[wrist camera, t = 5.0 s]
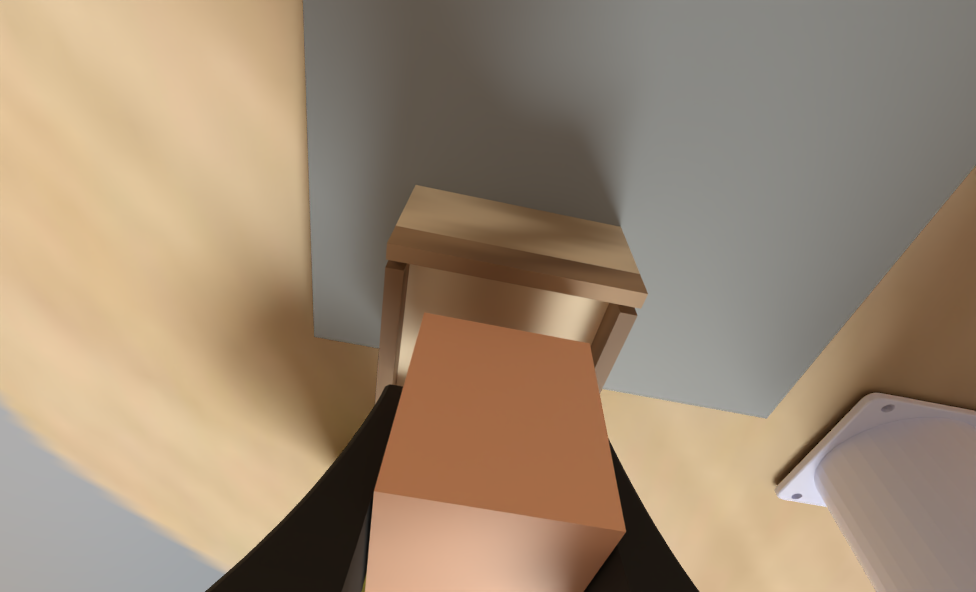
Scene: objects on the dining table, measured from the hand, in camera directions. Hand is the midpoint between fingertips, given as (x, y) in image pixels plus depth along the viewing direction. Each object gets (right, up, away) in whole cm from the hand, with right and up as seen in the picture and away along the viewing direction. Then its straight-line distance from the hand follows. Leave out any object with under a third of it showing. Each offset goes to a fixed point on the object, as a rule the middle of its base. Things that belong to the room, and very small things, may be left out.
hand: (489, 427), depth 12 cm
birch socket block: (0, +4, +5) cm, 6 cm away
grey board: (+4, +8, +3) cm, 9 cm away
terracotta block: (0, +1, +1) cm, 1 cm away
